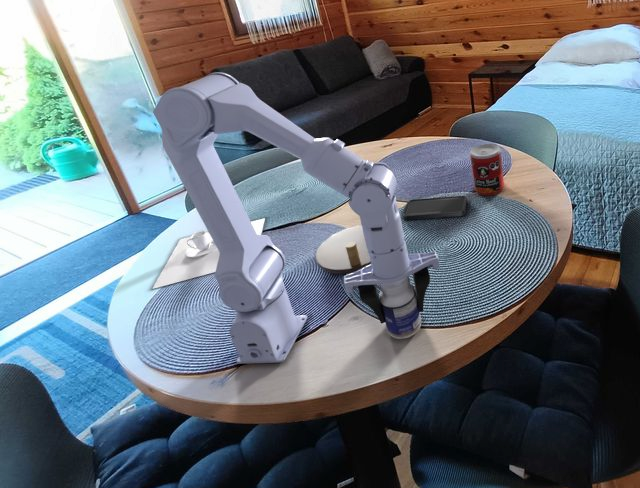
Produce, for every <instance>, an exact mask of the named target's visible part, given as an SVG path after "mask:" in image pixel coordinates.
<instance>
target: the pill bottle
mask: <svg viewBox="0 0 640 488" xmlns="http://www.w3.org/2000/svg"><path fill="white" fill-rule="evenodd" d="M378 285H379V289H380V292H379V295H378V296H379V299H380V303H381V307H382V311H383V315H384V318H385V323H384V324H385V326H386V331H387V333H388V334H389V335H390V336H391V338H393V339H397V340H404V339H408V338H411V337H412V336H414V335H415V334H416V333H417V332H419V330H420V329H421V326H422V316H421V312H419V308H418V302H417V297H416V292H415V285H414V284H413V283H412V282H411V279H410V276H408V277H406V278H404V279H402V280H400V281H398V282H395V283H391V284H378Z"/></svg>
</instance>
